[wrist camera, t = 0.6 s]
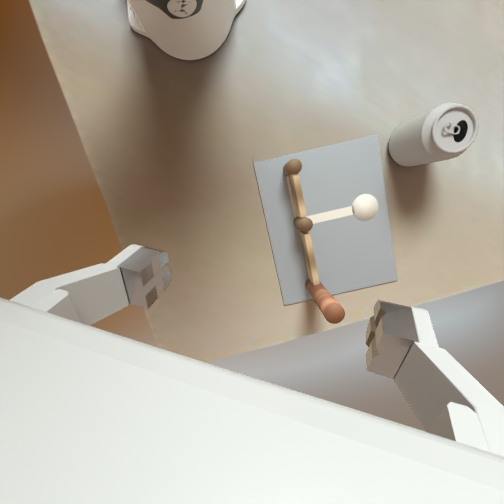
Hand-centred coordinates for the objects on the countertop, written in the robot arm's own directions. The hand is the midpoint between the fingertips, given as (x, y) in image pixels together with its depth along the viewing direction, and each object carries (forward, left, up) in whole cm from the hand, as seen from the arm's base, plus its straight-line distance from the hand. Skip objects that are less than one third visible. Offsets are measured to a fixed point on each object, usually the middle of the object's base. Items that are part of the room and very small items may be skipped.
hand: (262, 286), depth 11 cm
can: (-6, +30, -42) cm, 51 cm away
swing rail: (+10, +9, -41) cm, 43 cm away
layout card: (+4, +14, -42) cm, 44 cm away
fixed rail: (-2, +9, -41) cm, 42 cm away
